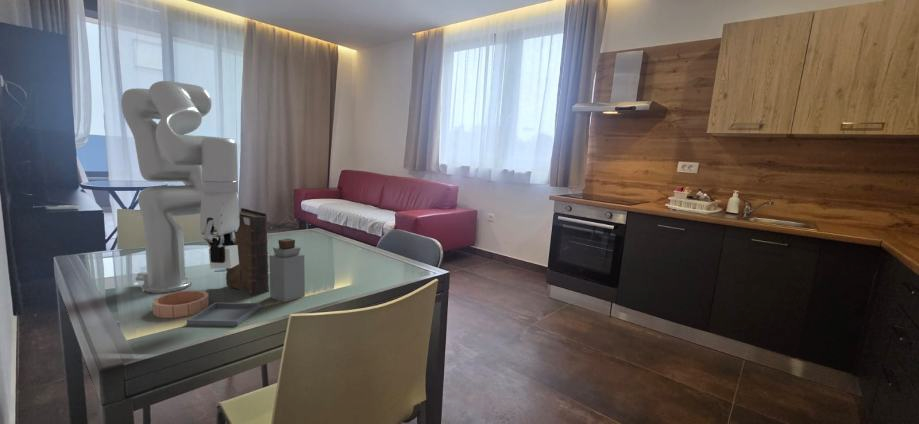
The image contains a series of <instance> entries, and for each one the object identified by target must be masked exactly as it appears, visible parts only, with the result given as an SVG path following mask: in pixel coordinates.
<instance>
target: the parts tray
mask: <svg viewBox="0 0 919 424" xmlns="http://www.w3.org/2000/svg"><path fill="white" fill-rule="evenodd" d="M260 309H261V302H260V303H257V302H256V303H255V302H254V303H253V302H220V301H219V302H214V303H212V304H209V307H207V308H205V309H204V310H202V311H201V312H199V313H196V314H193V316H191V317H189V318H188V319H187V320H186V326H207V327H208V326H210V327H211V326H212V327H213V326H214V327H216V326H217V327H239V326H240V325H241V324H242V323H244V322H245V321H246V320H247V319H249V318H250V317H251V316H252V315H253V314H255V313H256V312H257V311H258V310H260Z"/></svg>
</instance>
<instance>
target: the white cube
mask: <svg viewBox="0 0 919 424" xmlns="http://www.w3.org/2000/svg"><path fill="white" fill-rule="evenodd" d="M222 247H225V262H224V263H212V262H211V257H210V248H208V255H209V267H210V269H217V270H218V269H226V268H232V267H234V266H236V265H238V264H239V257H238V245H223V246H222Z"/></svg>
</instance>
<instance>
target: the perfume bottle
mask: <svg viewBox="0 0 919 424" xmlns="http://www.w3.org/2000/svg"><path fill="white" fill-rule="evenodd" d="M295 244H296V240H295V239H292V238H284V239H278V246H276V247H275V246H274V247H272V249H273V252H274V254H270V255H269V254H268V255H269V256H268V260H269V293H270V294H269V295H270V296H269V297H270V298H271V299H274V300H276V301H278V302H282V303H288V302H291V301H293V300H296V299H300V298H303V297H305V291H306V290H305V288H306V287H305V282H306V280H305V277H306V276H305V274H306V273H305V254H302V253H300V251H301V246H296V245H295Z"/></svg>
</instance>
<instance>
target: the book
mask: <svg viewBox="0 0 919 424" xmlns="http://www.w3.org/2000/svg"><path fill="white" fill-rule="evenodd" d="M239 218H240V222H239V228H238V230H237V232H236V235H235V242H233V243H235V245H238V257H239V264H238V265H236V266H234V267H232V268H225V270H226V274H225V277H226V279H225V281H226V286H227V287H229V288H230V289H233V290H234V289H235V290H238V291H241V290H242V291H244V292H245V293H247V294H250V295H261V294H266V293H270V283H269V280H270V275H269V267H270V264H269V256H268V255H269V252H268V242H269V241H268V216H267V213H263V212H261V211H260V212H259V211H256V210H250V209H249V208H243V207H241V208H240V211H239ZM226 235H227V234H226Z"/></svg>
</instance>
